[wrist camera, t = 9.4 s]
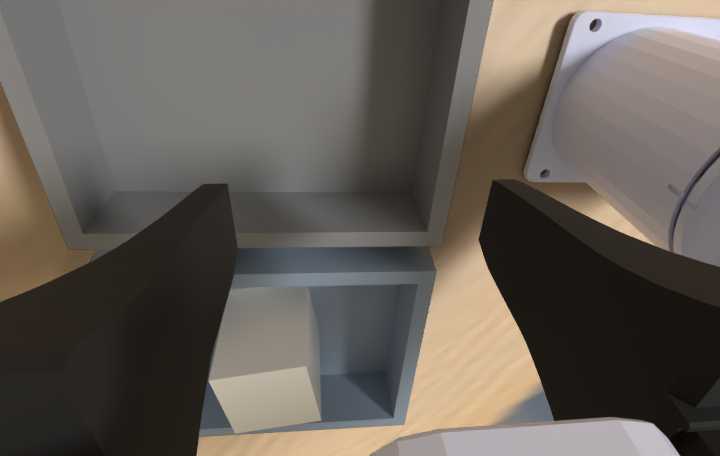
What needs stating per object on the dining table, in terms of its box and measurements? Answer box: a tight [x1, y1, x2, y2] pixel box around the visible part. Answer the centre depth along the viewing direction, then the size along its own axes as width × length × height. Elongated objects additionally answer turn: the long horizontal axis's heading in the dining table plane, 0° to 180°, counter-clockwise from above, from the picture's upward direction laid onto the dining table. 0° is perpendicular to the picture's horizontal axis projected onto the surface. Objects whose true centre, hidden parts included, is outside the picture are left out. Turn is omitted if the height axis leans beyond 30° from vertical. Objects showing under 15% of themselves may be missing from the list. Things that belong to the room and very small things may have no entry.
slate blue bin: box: [89, 246, 436, 437], centre depth 25 cm, size 16×13×4 cm
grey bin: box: [0, 0, 494, 250], centre depth 17 cm, size 16×13×4 cm
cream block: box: [208, 286, 321, 434], centre depth 23 cm, size 4×4×6 cm
